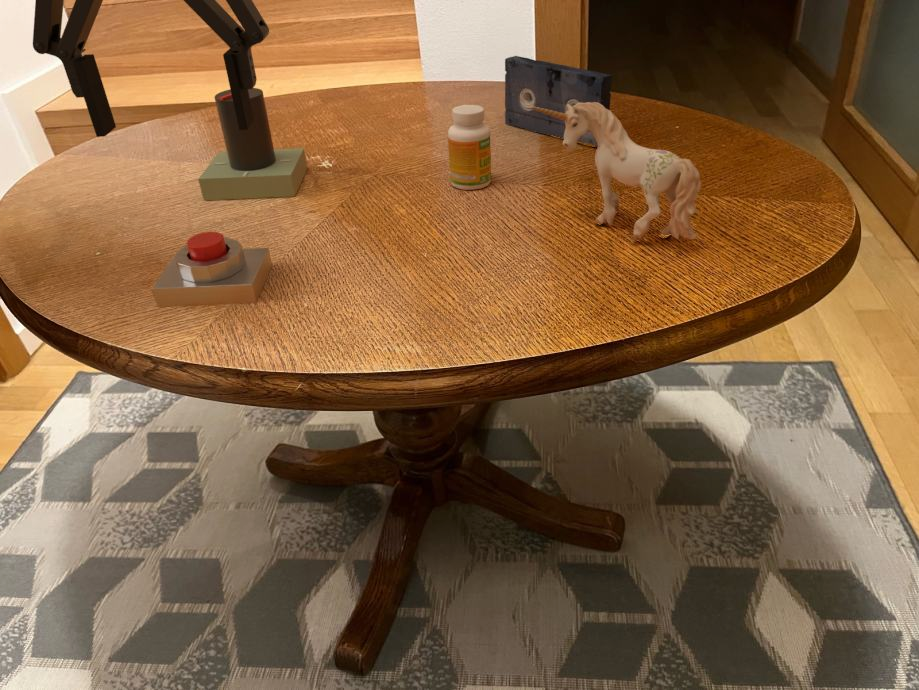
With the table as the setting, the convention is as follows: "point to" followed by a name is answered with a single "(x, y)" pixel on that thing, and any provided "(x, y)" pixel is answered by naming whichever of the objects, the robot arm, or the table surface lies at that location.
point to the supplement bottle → (469, 148)
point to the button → (206, 246)
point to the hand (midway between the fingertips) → (176, 128)
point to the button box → (214, 278)
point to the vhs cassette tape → (550, 94)
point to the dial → (246, 133)
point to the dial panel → (254, 177)
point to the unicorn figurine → (633, 169)
